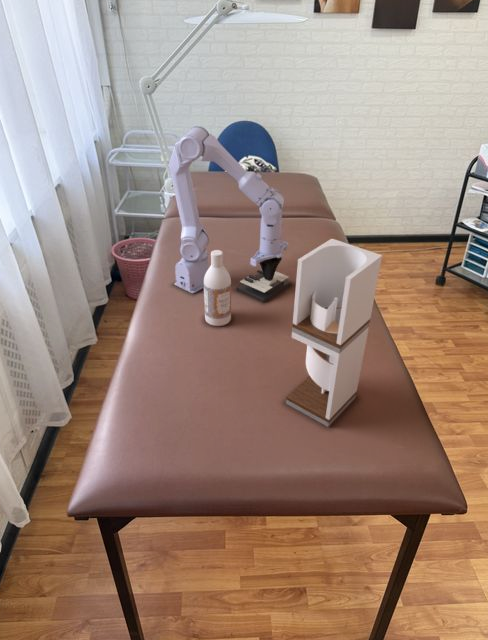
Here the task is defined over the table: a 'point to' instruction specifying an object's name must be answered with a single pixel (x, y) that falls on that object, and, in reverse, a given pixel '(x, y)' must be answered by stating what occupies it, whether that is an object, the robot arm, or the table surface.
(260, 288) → the piano keys trim
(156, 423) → the table surface
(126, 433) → the table surface
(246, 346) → the table surface
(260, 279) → the square cream block
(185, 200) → the robot arm
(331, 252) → the white tower
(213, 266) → the bath foam
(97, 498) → the table surface
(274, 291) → the toy piano
